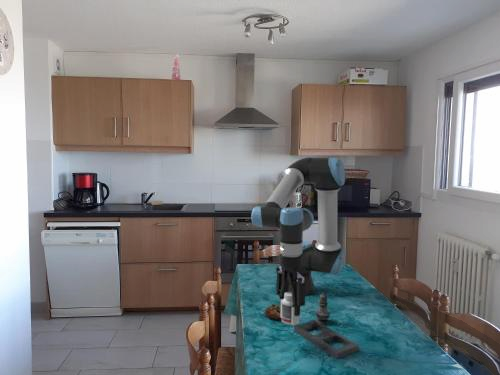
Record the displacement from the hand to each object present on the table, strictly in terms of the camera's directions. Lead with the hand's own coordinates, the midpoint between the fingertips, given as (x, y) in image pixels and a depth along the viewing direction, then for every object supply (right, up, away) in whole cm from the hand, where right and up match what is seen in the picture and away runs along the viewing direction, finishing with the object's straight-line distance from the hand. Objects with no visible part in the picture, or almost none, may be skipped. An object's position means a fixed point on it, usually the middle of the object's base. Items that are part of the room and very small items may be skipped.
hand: (289, 320), depth 129 cm
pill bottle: (0, -1, 0) cm, 1 cm away
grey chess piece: (+15, -7, +19) cm, 25 cm away
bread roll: (-2, -7, +24) cm, 25 cm away
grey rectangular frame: (+13, -8, +4) cm, 16 cm away
